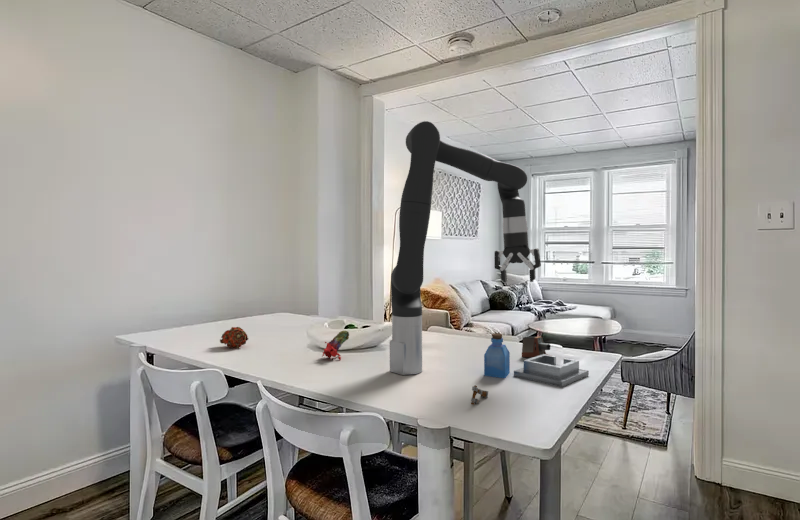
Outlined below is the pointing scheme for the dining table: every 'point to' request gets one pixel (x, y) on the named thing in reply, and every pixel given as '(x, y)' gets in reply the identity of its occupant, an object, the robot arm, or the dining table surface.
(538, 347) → the electronic device
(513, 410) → the dining table surface
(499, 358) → the perfume bottle
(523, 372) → the grey square frame
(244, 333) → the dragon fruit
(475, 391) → the wooden post with brackets
